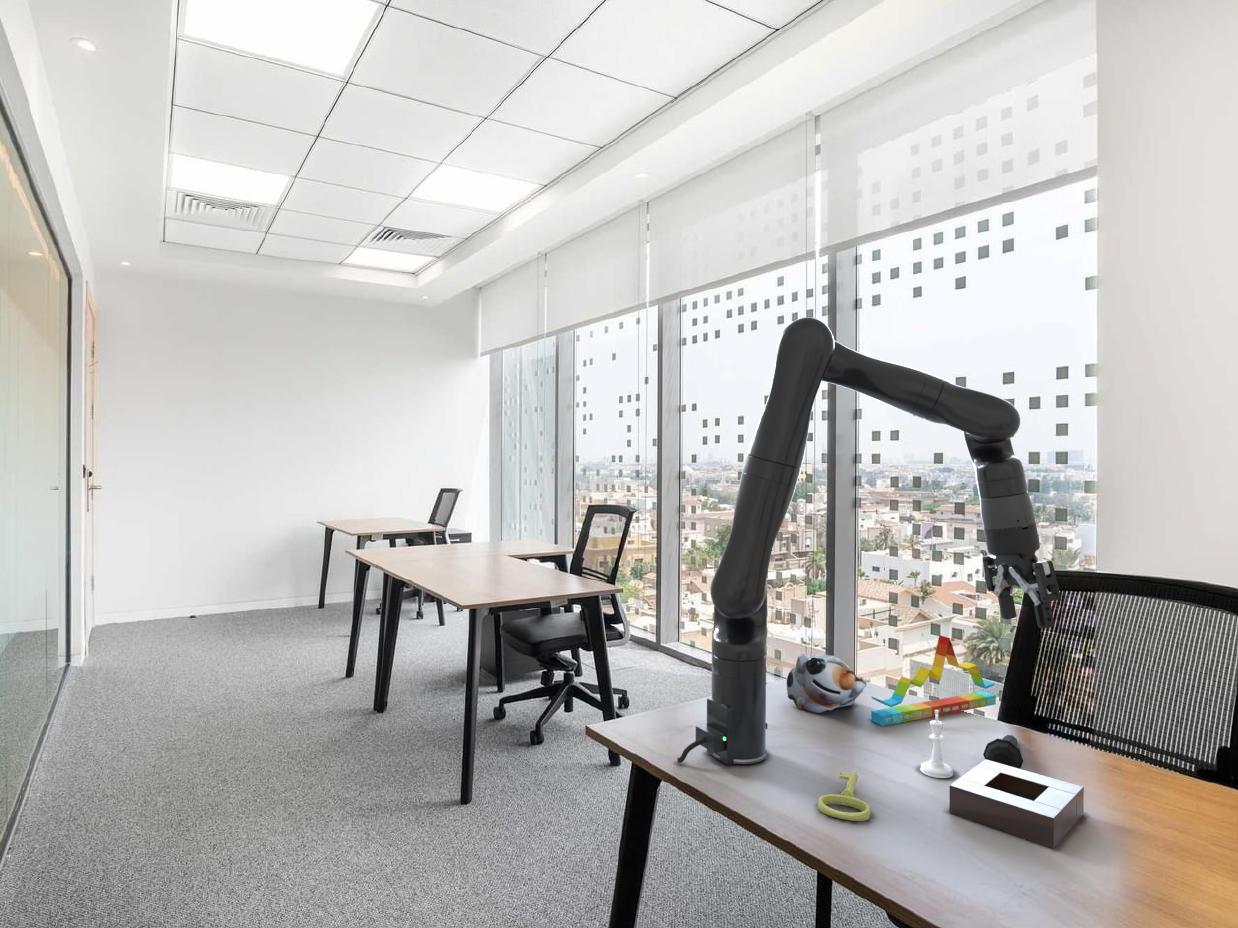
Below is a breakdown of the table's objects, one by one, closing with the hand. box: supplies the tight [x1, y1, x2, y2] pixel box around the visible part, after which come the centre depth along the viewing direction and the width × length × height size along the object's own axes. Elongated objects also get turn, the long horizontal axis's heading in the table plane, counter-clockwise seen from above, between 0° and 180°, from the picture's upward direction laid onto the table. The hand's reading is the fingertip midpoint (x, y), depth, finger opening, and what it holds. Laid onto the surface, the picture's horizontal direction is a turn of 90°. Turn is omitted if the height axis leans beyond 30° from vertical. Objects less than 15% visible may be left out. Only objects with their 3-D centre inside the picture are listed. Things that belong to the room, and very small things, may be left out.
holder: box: [948, 758, 1085, 849], centre depth 107 cm, size 14×14×4 cm
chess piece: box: [919, 710, 954, 779], centre depth 121 cm, size 5×5×10 cm
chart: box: [870, 635, 997, 727], centre depth 149 cm, size 30×3×15 cm, turn 114°
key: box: [817, 771, 872, 822], centre depth 110 cm, size 7×12×2 cm, turn 172°
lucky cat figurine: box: [786, 653, 867, 714], centre depth 151 cm, size 15×12×14 cm
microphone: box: [982, 734, 1024, 769], centre depth 126 cm, size 6×6×20 cm
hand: (1027, 622), depth 118 cm, fingers open, 8 cm apart
